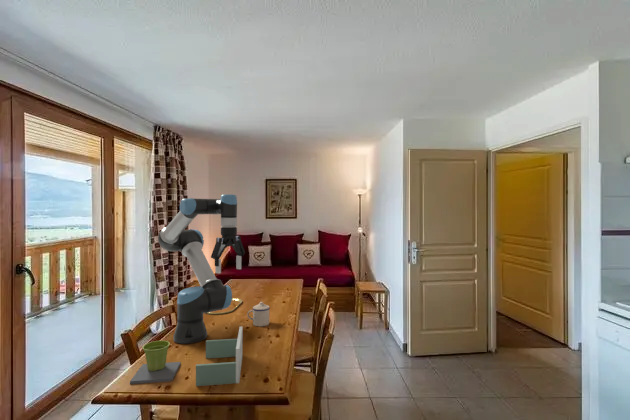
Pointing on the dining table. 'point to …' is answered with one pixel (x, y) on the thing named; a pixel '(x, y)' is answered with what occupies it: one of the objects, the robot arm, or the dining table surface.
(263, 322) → the teacup with lid
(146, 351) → the plant pot
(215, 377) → the grey-green angled panels
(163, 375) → the slate mat
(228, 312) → the brass wire loop
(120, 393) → the dining table surface
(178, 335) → the robot arm
